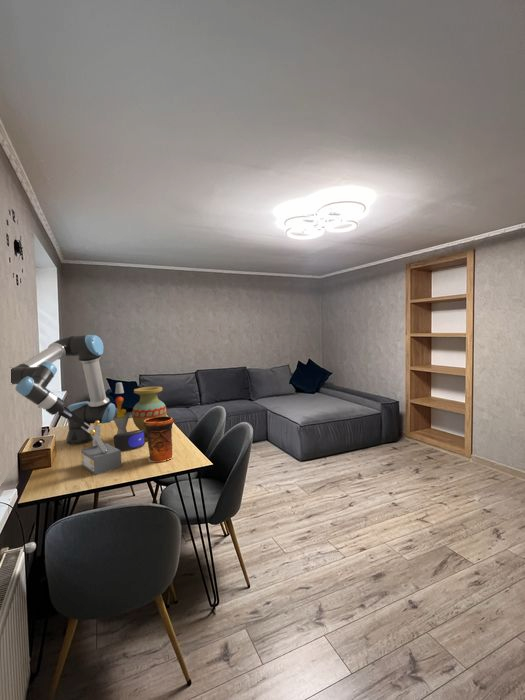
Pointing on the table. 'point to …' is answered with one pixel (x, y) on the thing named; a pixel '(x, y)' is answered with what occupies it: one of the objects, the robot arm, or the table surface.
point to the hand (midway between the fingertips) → (92, 431)
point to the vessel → (159, 438)
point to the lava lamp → (120, 411)
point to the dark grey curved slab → (129, 440)
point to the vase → (147, 407)
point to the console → (101, 459)
